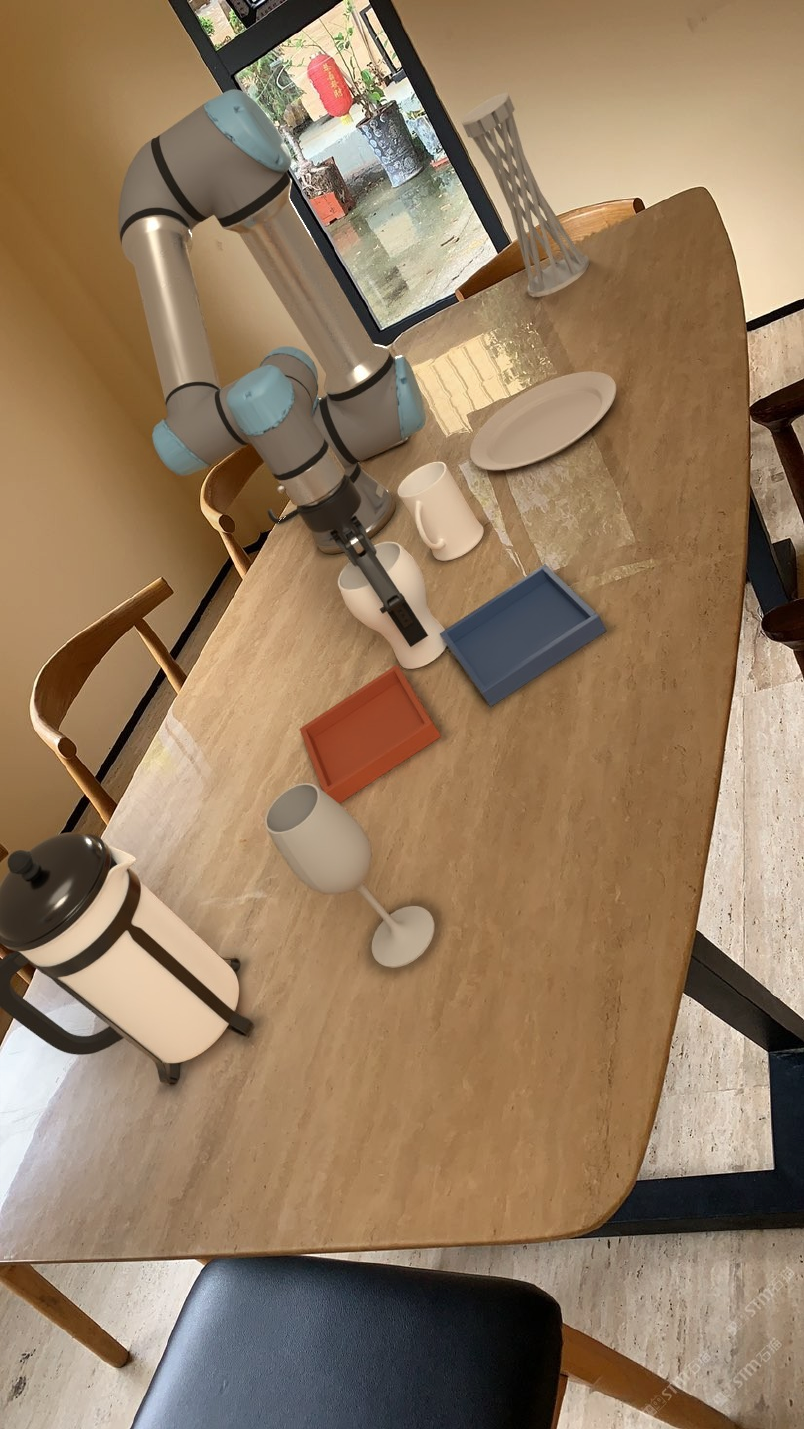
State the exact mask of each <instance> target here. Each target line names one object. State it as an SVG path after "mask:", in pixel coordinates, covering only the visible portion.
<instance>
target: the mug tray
mask: <svg viewBox="0 0 804 1429" xmlns="http://www.w3.org/2000/svg"><path fill="white" fill-rule="evenodd" d="M606 632H607V628H606V627H605V624H604V622H603V620H602V619H601V617H600V615H599V614H598V613H597V612H596V611H595V610H594V609H592V607H591V606H590V605H589V604H587V602H585V601H584V600H583V598H581V596H579V595H578V594H577V592H575V591H574V590H573V589H572V588H571V587H570V586H569V585H568V584H567V583H566V582H565V581H564V580H563V579H562V578H560V576H558V574H556V572H555V571H553V569H551V567H549V566H548V565H547V564H546V563H544V564H542V565H541V566H539V567H537V568H536V569H535V570H533V571H531V572H530V573H529V574H527V575H525V576H524V577H523V578H521V579H520V580H518V581H517V582H515V583H514V584H512V585H510V586H509V587H508V588H506V589H504V590H503V591H502V592H500V593H499V594H497V595H495V596H494V597H493V598H491V599H489V600H488V601H486V602H485V603H483V604H482V605H481V606H479V607H477V608H476V609H474V610H472V611H471V612H470V613H468V614H467V615H466V616H464V617H463V618H461V619H459V620H458V621H456V622H455V623H453V624H452V625H450V626H449V627H447V628H446V629H445V630H444V631H443V632H441V633H440V635H441V637H442V638H443V640H444V641H445V643H446V644H447V647H448V649H449V650H450V652H451V653H452V655H453V656H454V658H456V660H457V662H458V663H459V664H460V666H461V668H462V669H463V670H464V671H465V673H466V675H467V676H468V677H469V679H470V680H471V682H472V683H473V684H474V686H475V687H476V688H477V690H478V691H479V693H480V695H481V696H482V697H483V698H484V700H485V701H486V703H487V704H488V705H489V707H490V708H491V707H493V706H494V705H497V703H500V702H501V701H502V700H504V699H505V698H507V697H509V696H510V695H512V694H513V693H514V692H516V691H517V690H519V689H520V688H522V687H524V686H525V685H526V684H528V683H530V682H531V681H533V680H534V679H536V678H537V677H538V676H540V675H542V674H543V673H545V672H546V671H548V670H549V669H551V668H553V667H554V666H555V665H557V664H558V663H560V662H562V661H563V660H565V659H567V657H569V656H571V655H573V654H574V653H576V652H577V651H579V650H580V649H582V648H583V647H584V646H586V645H588V644H589V643H590V642H592V641H594V640H595V639H596V638H598V637H600V636H601V635H603V634H604V633H606Z"/></svg>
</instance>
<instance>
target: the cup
mask: <svg viewBox="0 0 804 1429" xmlns="http://www.w3.org/2000/svg"><path fill="white" fill-rule="evenodd" d="M373 546H374V547H375V549H376V551H377V553H376V557H377V558H378V560H379V561H380V563H381V565H382V566H383V568H384V569H385V571H386V572H387V574H388V575H389V577H390V578H391V580H392V581H393V583H394V584H395V586H396V588H397V589H398V591H399V592H400V593H401V594H402V595H403V596H404V598H405V600H406V602H407V603H408V605H409V606H410V608H411V609H412V611H413V612H414V614H415V616H416V617H417V619H418V620H419V622H420V623H421V625H422V626H423V628H424V630H425V631H426V633H427V634H428V636H427V637H425V638H424V639H422V640H421V641H419V642H418V643H416V644H415V645H413V646H412V647H410V646H409V644H408V643H407V641H406V640H405V638H404V637H403V635H402V634H401V632H400V631H399V629H398V628H397V626H396V625H395V623H394V622H393V620H392V618H391V617H390V615H389V614H388V612H387V611H386V612H385V613H383V614H382V612H381V611H380V608H382V607H383V603H382V601H381V600H380V598H379V597H378V595H377V594H376V592H375V590H374V589H373V587H372V586H371V584H370V583H369V581H368V580H367V578H366V577H365V575H364V574H363V572H362V571H361V569H360V568H359V567H355V566H354V565H353V564H352V563H351V561H350V560H349V561H348V562H347V564H345V566H343V568H342V570H341V571H340V573H339V575H338V578H337V586H338V588H339V591H340V593H341V596H342V599H343V602H344V604H345V606H346V608H348V611H349V612H350V613H351V614H352V616H354V617H355V618H356V619H357V620H358V621H360V622H361V623H362V624H363V625H365V626H366V627H367V628H368V629H371V630H374V631H375V632H377V633H380V635H382V636H383V637H384V639H386V641H387V642H388V643H389V644H390V646H391V648H392V651H393V653H394V655H395V657H396V659H397V661H398V663H399V665H400V666H401V667H403V668H404V669H406V670H414V669H418V668H422V667H425V666H426V665H429V664H430V663H432V662H433V661H435V660H436V659H437V658H439V657H440V656H441V654H442V653H443V652H444V651H445V650H446V649H447V647H448V646H447V644H446V643H445V641H444V640H443V638H442V637H441V635H440V633H441V632H443V631H444V630H446V629H445V627H444V626H443V625H442V624H441V623H440V622H439V621H438V620H437V619H436V618H435V617H434V616H433V614H432V612H431V609H430V608H429V605H428V603H427V602H428V601H427V585H426V582H425V579H424V575H423V572H422V569H421V568H420V566H419V564H418V563H417V561H416V560H415V558H414V556H412V555H411V554H410V553H409V552H408V551H407V549H405V548H404V547H403V546H402V545H401V544H399V543H398V542H395V541H383V542H379V543H376V544H373Z"/></svg>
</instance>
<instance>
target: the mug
mask: <svg viewBox="0 0 804 1429" xmlns="http://www.w3.org/2000/svg"><path fill="white" fill-rule="evenodd" d="M396 491H397V495H398V497H399V499H400V500H401V502H402V503H403V505H404V507H405V508H406V510H407V511H408V513H409V515H410V517H411V518H412V520H413V522H414V523H415V525H416V528H417V531H418V533H419V535H420V537H421V539H422V541H423V543H424V544H425V545H426V546H427V547H429V548H430V550H431V553H432V555H433V557H434V559H436V560H438V561H442V562H447V561H452V560H455V559H458V558H460V557H462V556H464V555H465V554H467V553H469V552H471V550H473V549H474V548H475V547H476V546H477V545H478V544H479V543H480V542H481V540H482V538H483V536H484V533H485V529H484V526H483V525H482V524H481V523H480V522H479V520H478V519H477V517H476V516H475V514H474V512H473V510H472V508H471V507H470V505H469V503H468V502H467V500H466V498H465V497H464V494H463V492H462V491H461V489H460V488H459V486H458V484H457V482H456V480H455V479H454V476H453V475H452V473H451V471H450V470H449V468H448V466H447V464H446V463H445V462H442V461H433V462H429V463H426V464H424V465H422V466H419V467H418V468H416V469H414V470H413V471H411V472H410V473H409V474H408V475H407V476H406V477H405V478H404V479H403V480H402V481H401V482H400V483H399V485H398V487H397V490H396Z"/></svg>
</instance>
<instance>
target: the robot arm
mask: <svg viewBox="0 0 804 1429" xmlns="http://www.w3.org/2000/svg"><path fill="white" fill-rule="evenodd" d="M284 140H285V139H284V138H283V136H282V134H281V133H280V131H279V129H278V128H277V126H276V125H275V124H274V122H273V120H272V119H271V118H270V116H269V115H268V114H267V113H266V112H265V110H264V109H263V108H262V107H261V105H260V104H259V103H258V102H257V101H256V100H254V99H253V98H252V97H251V96H250V95H249V94H248V93H246V92H244V91H243V90H240V89H235V88H234V89H228V90H226V91H225V92H222V93H221V94H219V95H217V96H215V97H214V98H212V99H209V100H207V101H205V102H204V103H203V104H202V105H200V106H199V107H197V108H195V109H194V110H193V111H191V112H190V113H189V114H188V115H185V116H184V117H183V118H181V119H180V120H179V121H177V122H176V123H174V124H173V125H171V126H170V127H169V128H168V129H166V130H165V131H163V132H162V133H160V134H159V135H158V136H156V137H153V138H151V139H150V140H148V141H147V142H146V143H145V144H144V145H143V146H142V147H141V148H140V149H139V150H138V151H137V153H136V154H135V155H134V157H133V159H132V160H131V162H130V164H129V166H128V168H127V171H126V173H125V176H124V179H123V183H122V185H121V186H122V187H121V191H120V196H119V202H118V213H117V222H118V223H117V224H118V235H119V240H120V246H121V249H122V252H123V255H124V257H125V259H126V260H127V261H129V263H130V264H132V265H133V267H134V271H135V272H134V273H135V276H136V280H137V284H138V289H139V293H140V298H141V302H142V306H143V311H144V315H145V320H146V324H147V329H148V333H149V337H150V341H151V346H152V350H153V354H154V358H155V364H156V367H157V372H158V376H159V380H160V384H161V389H162V394H163V397H164V404H165V407H166V413H167V416H166V418H163V419H161V421H159V422H158V423H157V424H155V425H154V427H153V432H152V433H151V439H152V443H153V446H154V449H155V451H156V453H157V455H158V457H159V459H160V460H161V462H162V463H163V464H164V466H165V467H166V468H167V469H168V470H169V471H171V472H173V473H174V474H175V475H177V476H181V477H188V476H190V475H193V474H194V473H197V472H200V471H202V470H205V469H207V468H210V467H212V465H213V464H215V463H217V462H219V461H220V460H223V459H224V458H226V457H228V456H231V454H234V453H235V452H237V451H239V450H241V449H242V448H245V447H246V446H248V445H250V444H251V445H252V446H253V448H254V450H255V451H256V452H257V454H258V456H260V458H261V460H262V461H263V462H264V464H265V465H266V467H267V468H268V470H269V471H270V472H271V474H272V476H273V477H274V479H276V481H277V483H278V485H277V486H276V491H277V492H278V493H279V494H283V493H285V494H286V496H287V497H288V499H289V500H290V502H291V503H292V505H294V506H296V509H293V510H292V511H291V512H289V513H287V514H286V515H285V516H286V517H285V518H284V516H282V517H276V516H275V514H274V511H273V509H272V508H269V509H268V510H267V514H268V518H269V519H270V520H271V521H272V522H273V523H274V524H283V523H285V522H287V521H290V520H291V519H293V518H294V517H296V516H297V515H299V516H300V518H301V519H302V520H303V522H304V523H305V525H306V527H307V528H308V529H309V530H310V531H311V535H312V537H313V541H314V543H315V544H316V546H317V547H318V548H319V550H320V551H321V552H322V553H324V554H328V555H335V554H341V553H344V554H345V555H346V557H347V558H348V560H349V562H350V561H351V563H352V564H353V565H354V566H355V567H359V568H360V569H361V571H362V572H363V574H364V575H365V577H366V578H367V580H368V581H369V583H370V584H371V586H372V587H373V589H374V590H375V592H376V594H377V595H378V597H379V598H380V600H381V601H382V603H383V607H382V608H380V611H381V612H382V614H383V613H385V612H386V611H387V612H388V614H389V615H390V617H391V618H392V620H393V622H394V623H395V625H396V626H397V628H398V629H399V631H400V632H401V634H402V635H403V637H404V638H405V640H406V641H407V643H408V644H409V646H410V647H412V646H413V645H415V644H416V643H418V642H419V641H421V640H422V639H424V638H425V637H427V636H428V634H427V633H426V631H425V630H424V628H423V626H422V625H421V623H420V622H419V620H418V619H417V617H416V616H415V614H414V612H413V611H412V609H411V608H410V606H409V605H408V603H407V602H406V600H405V598H404V596H403V595H402V594H401V593H400V592H399V591H398V589H397V588H396V586H395V584H394V583H393V581H392V580H391V578H390V577H389V575H388V574H387V572H386V571H385V569H384V568H383V566H382V565H381V563H380V561H379V560H378V558H377V557H376V553H377V551H376V549H375V547H374V546H373V545H374V544H373V543H372V541H371V540H370V539H371V538H373V537H374V536H375V535H376V534H378V533H379V532H380V531H381V530H382V529H383V528H384V527H385V526H386V525H387V524H388V522H389V521H390V520H391V518H392V516H393V515H394V513H395V510H396V501H395V500H394V498H393V496H392V495H391V493H390V491H389V490H388V489H387V488H386V487H384V486H383V485H382V484H380V483H379V482H378V481H377V480H376V479H374V478H373V477H372V476H371V475H369V474H368V473H367V472H366V471H364V469H362V468H363V467H362V466H361V465H360V464H359V463H360V462H363V461H365V460H364V459H366V458H368V457H370V456H372V455H374V454H376V453H378V452H380V451H382V450H384V449H386V448H388V447H390V446H392V445H394V444H396V443H398V442H400V441H405V440H406V438H407V437H408V438H410V437H411V436H413V435H415V434H416V433H418V432H420V431H421V430H422V429H423V428H424V426H425V424H426V420H427V416H426V414H427V413H426V408H425V404H424V403H425V402H424V399H423V396H422V393H421V389H420V386H419V383H418V381H417V378H416V376H415V372H414V370H413V368H412V366H411V363H410V361H409V360H408V359H407V357H406V356H404V355H396V356H393V355H392V353H391V352H390V350H389V349H388V348H387V346H385V345H381V344H376V343H374V342H373V341H372V339H371V337H370V335H369V333H368V332H367V331H366V329H365V327H364V325H363V324H362V322H361V320H360V318H359V316H358V315H357V312H356V311H355V310H354V308H353V306H352V305H351V302H350V301H349V299H348V297H347V296H346V294H345V292H344V290H343V289H342V287H341V286H340V283H339V282H338V280H337V278H336V277H335V275H334V273H333V272H332V270H331V268H330V266H329V265H328V263H327V260H326V259H325V257H324V256H323V254H322V252H321V251H320V248H319V247H318V245H317V244H316V242H315V240H314V238H313V237H312V235H311V233H310V231H309V230H308V228H307V226H306V225H305V222H304V221H303V219H302V218H301V216H300V215H299V213H298V210H297V209H296V207H295V206H294V204H293V202H292V201H291V198H290V195H291V189H292V183H293V180H292V178H291V176H290V175H289V173H288V171H289V170H290V167H291V166H292V163H293V160H292V155H291V152H290V149H289V147H288V146H287V144H286V142H284ZM213 216H214V217H215V218H216V220H217V221H218V223H219V225H220V226H221V228H222V229H223V230H225V231H226V230H227V231H230V232H234V233H237V234H238V235H239V237H240V238H241V239H242V241H243V243H244V244H245V246H246V248H247V249H248V251H249V252H250V254H251V257H253V259H254V261H255V262H256V264H257V265H258V267H259V268H260V270H261V272H262V273H263V275H264V276H265V278H266V280H267V281H268V283H269V284H270V286H271V288H272V289H273V291H274V292H275V295H276V296H277V297H278V299H279V301H280V302H281V304H282V306H283V307H284V308H285V310H286V313H287V314H288V315H289V317H290V318H291V320H292V321H293V324H294V325H295V326H296V328H297V329H298V331H299V333H300V334H301V336H302V337H303V339H304V341H305V342H306V344H307V346H308V347H309V349H310V350H311V352H312V354H313V355H314V357H315V358H316V360H317V362H318V364H319V365H320V366H321V368H322V369H323V371H324V373H325V379H324V384H323V390H324V392H325V393H326V394H325V395H324V396H322V397H319V395H318V394H319V383H318V381H319V372H318V368H317V366H316V364H315V362H314V360H313V359H312V358H311V356H310V355H308V353H306V352H305V351H303V350H302V349H300V348H297V347H294V346H279V347H277V348H274V349H272V350H271V351H270V352H269V353H267V354H266V356H265V357H264V358H263V360H261V362H260V364H259V366H258V367H257V368H255V369H253V370H252V371H250V372H248V373H246V374H244V375H242V376H241V377H239V378H238V379H236V380H234V381H232V382H230V383H228V384H227V385H225V386H223V387H222V386H221V383H220V379H219V374H218V370H217V366H216V362H215V358H214V354H213V350H212V346H211V342H210V337H209V333H208V329H207V325H206V321H205V317H204V313H203V308H202V304H201V300H200V296H199V291H198V288H197V283H196V280H195V275H194V271H193V267H192V262H191V258H190V254H191V252H192V250H193V246H194V245H193V244H194V243H193V235H192V231H193V230H194V228H195V227H197V225H198V224H200V223H202V222H205V221H206V220H208V219H209V218H211V217H213ZM406 441H407V440H406ZM406 441H405V442H406ZM370 458H371V457H370ZM368 459H369V458H368ZM362 460H363V461H362ZM366 460H367V459H366ZM280 518H282V519H281V520H280ZM283 518H284V519H283ZM279 520H280V521H279ZM278 522H279V523H278Z"/></svg>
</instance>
